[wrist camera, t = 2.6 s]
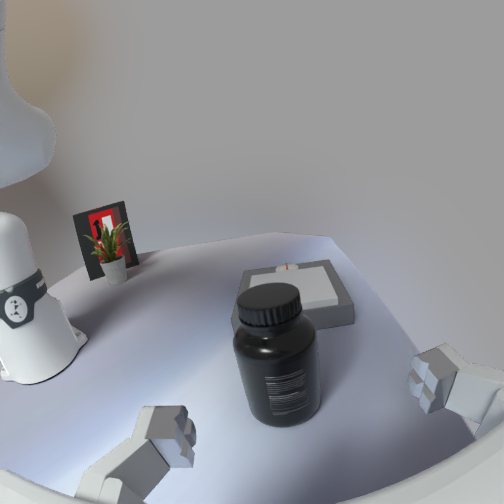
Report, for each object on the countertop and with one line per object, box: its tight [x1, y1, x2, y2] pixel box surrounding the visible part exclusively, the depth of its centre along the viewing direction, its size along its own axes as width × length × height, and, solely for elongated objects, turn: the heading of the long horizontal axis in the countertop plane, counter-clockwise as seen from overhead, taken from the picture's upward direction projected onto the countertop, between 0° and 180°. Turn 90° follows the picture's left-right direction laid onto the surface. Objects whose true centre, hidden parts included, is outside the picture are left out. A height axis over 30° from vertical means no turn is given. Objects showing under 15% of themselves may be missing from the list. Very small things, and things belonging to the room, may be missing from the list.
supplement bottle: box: [233, 282, 321, 427], centre depth 22 cm, size 7×7×12 cm
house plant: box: [84, 222, 130, 285], centre depth 67 cm, size 14×14×16 cm
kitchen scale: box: [231, 260, 354, 335], centre depth 44 cm, size 16×18×4 cm
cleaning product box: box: [73, 201, 139, 281], centre depth 79 cm, size 16×9×20 cm, turn 124°
